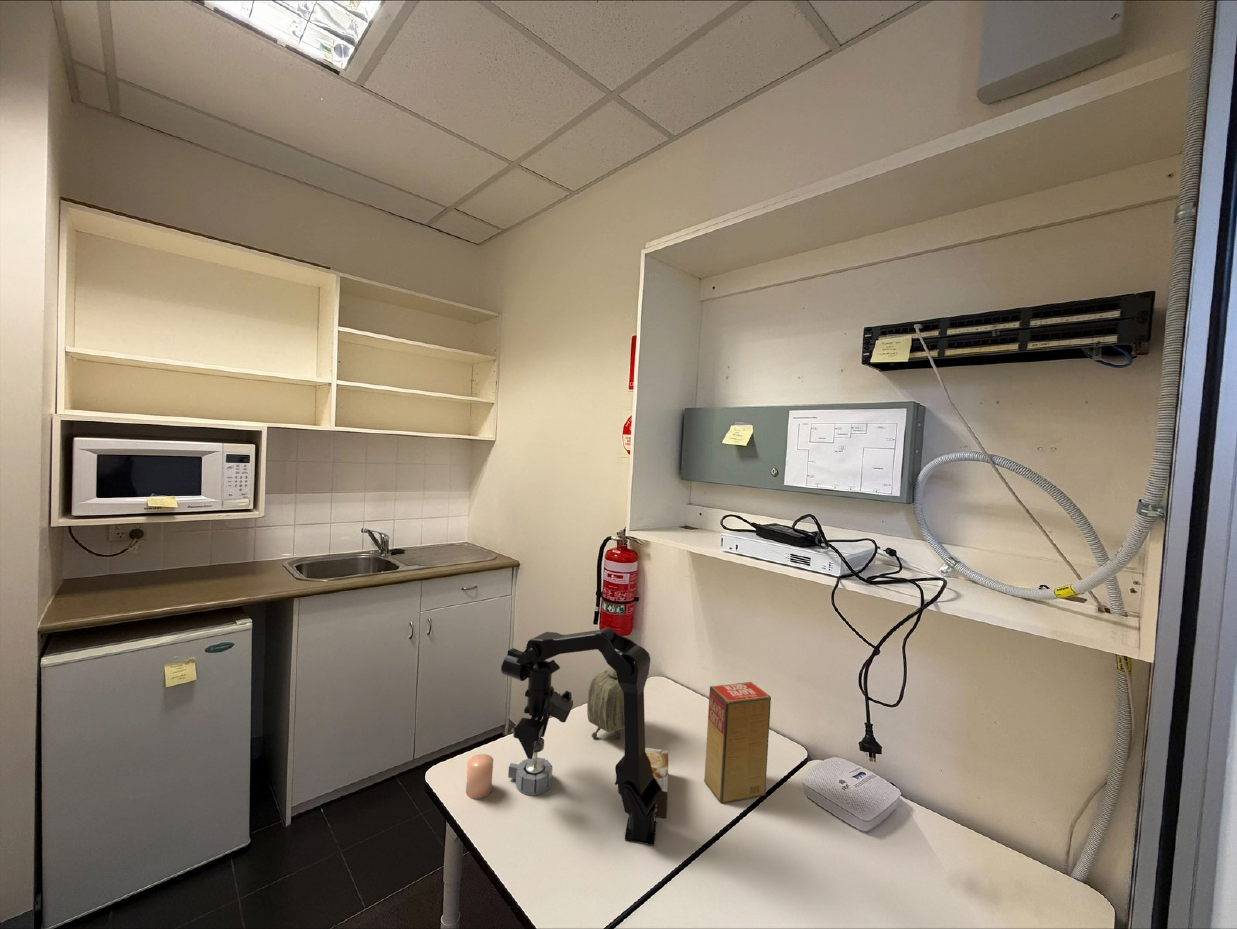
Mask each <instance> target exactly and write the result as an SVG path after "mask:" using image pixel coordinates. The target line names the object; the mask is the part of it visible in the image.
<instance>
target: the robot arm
mask: <svg viewBox="0 0 1237 929" xmlns="http://www.w3.org/2000/svg"><path fill="white" fill-rule="evenodd" d="M594 650H595V651H596V650H597V651H598V652H600V653H601V655H602V656H603V658H604V660H605V662H606V664H607V665H608V666H610V667H612V668H613V669H614V670H615V671H616V675H617V681H618V683H619V685H620V687H621V689H622V690H623V710H624V728H623V744H624V745H623V746H624V747H623V749H624V750H623V752H624V755H623V756H622V757H621V759H620V760H619V761H618V762H617V763H616V764H615V766H614V768H615V769H614V770H615V777H616V778H615V782H614V785H615V786H617V790H618V795H620V796H621V801H622V805H623V809H624V812H625V813H626V814H628V817H627V822H626V827H625V832H624V840H625V841H627V842H634V843H640V844H644V845H650V846H654V845H655V842H656V831H657V821H656V820H655V818H656V816H655V802H656V800H657V799H658V798H659V796H660V794H661V792H662V788H661V787H660V785H659V784H658V782H657V781H656V779H655V777H654V776H653V773H652V767H651V762H650V760H649V758H648V756H647V755H646V752H645V748H646V724H645V718H646V717H645V686H646V684H647V683H646V682H647V681H648V680H647V679H648V676H649V672H650V664H651V656H650V653H649V652H648V651H647V650H646V649H645V648H644V647H642V645H641V646H640V645H638V644H637V643H636V642H635V641H633V640H632V639H630V638H628V637H626V636H624V635H621V634H619V633H618V632H616V630H614V629H612V628H611V627H604V628H602V629H596V630H590V631H581V632H576V633H568V634H561V633H559V632H555V631H554V632H553V631H552V632H551V631H545V632H543V633H541V634H538V635H537V636H535V637H533V638H530V639H529V640H528V641H527V644H526V647H525V650H524V651H521V650H520V649H517V648H514V647H512V648H510V649H508V650H507V655H505V657H504V658H503V661H502V663H501V666H500V667H501V668H500V670H501V674H502V675H503V676H505V677H509V678H511V679H515V680H517V681H521V682H523V681H526V680H527V679H528V682H527V689H526V691H524V697H525V698H527V699H526V706H525V707H524V708H523V709H524V710H523V714H528V715H529V716H530V718H528V717H521V718H520V719H519V720H518V721H517V723H516V724H515V726H514V727H513V735H512V737H513V738H515V739H518V741H519V743H520V744H521V746H522V749H523V751H524V753H525V755H526V757H527V758H526V759H532V758H533V754H534V749H535V745H536V741H538V740H539V739H540V738H541V737H542V738H544V737H545V733H546V731H547V727H548V724H549V720H550V718H551V717H553V718H554V719H556V720H558V721H559V722H560V723H566V722H567V720H568V717H569V715H570V713H571V711H572V709H573V707H574V700H573V699H572V697H573V696H572V692H570V691H568V690H565V691H564V692H563V693H558V691H555V688H554V686H553V685H552V678H553V675H552V674H554V673H555V672H557V671H558V670H560V669H561V666H560V665H559V663H557V662H556V661H555V659H552V658H553V657H556V656H558V655H563V654H570V653H578V652H587V651H594ZM617 651H621V652H623V654H622V653H618V652H617ZM549 659H552V660H550V661H549Z"/></svg>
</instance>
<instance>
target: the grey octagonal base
mask: <svg viewBox="0 0 1237 929" xmlns="http://www.w3.org/2000/svg"><path fill="white" fill-rule="evenodd" d="M531 761H533V758H532V759H528V758H526V759H523V760H521V761H520V763H514V762H513V763H512V762H510V763H509V766H508V775H507V777H508V778H510V779H515V787H516V789H517V791H518V792H519V793H521V794H523V795H525V796H538V795H541V794H544V793H546V792H547V791H548V790H549V789H550V788H551V786H552V783H553V782H552V780H553V764H551V763H550V761H549V760H548V759H546V758H543V757H538V756H537V761H539V762H541V763H543V765H544V768H543V770H542V771H541V772H540V773H537V774H531V773H528V772H527V771H526V765H527V764H528V763H529V762H531Z"/></svg>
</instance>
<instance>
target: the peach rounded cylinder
mask: <svg viewBox="0 0 1237 929" xmlns="http://www.w3.org/2000/svg"><path fill="white" fill-rule="evenodd" d="M466 766H467V770H466V786H465V794H466V796H467V797H468V798H470V799H472V798H475V799H474V800H479V799H478V798H481V799H484V798H486V797H488V796H489V795H488V794H489V793H490V794H491V792H492V789H493V773H494V769H493V768H494V758H493V756H492V755H489V754H488V753H480V754H474V755H473V756H472V757H470V758H469V759H468V760H467V765H466ZM485 796H486V797H485Z"/></svg>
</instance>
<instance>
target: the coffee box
mask: <svg viewBox="0 0 1237 929" xmlns="http://www.w3.org/2000/svg"><path fill="white" fill-rule="evenodd" d="M645 752H646V755H647V756H648V758H649V760H650V762H651V767H652V773H653V776H654V777H655V779H656V781H657V782H658V784H659V785H660V787H661V788H662V792H661V794H660V796H659V798H658V799H657V800H656V802H655V817H659V818H665V819H666V818H667V811H668V792H669V791H668V789H669V754H670V753H669V750H664V749H660V748H651V747H645Z"/></svg>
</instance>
